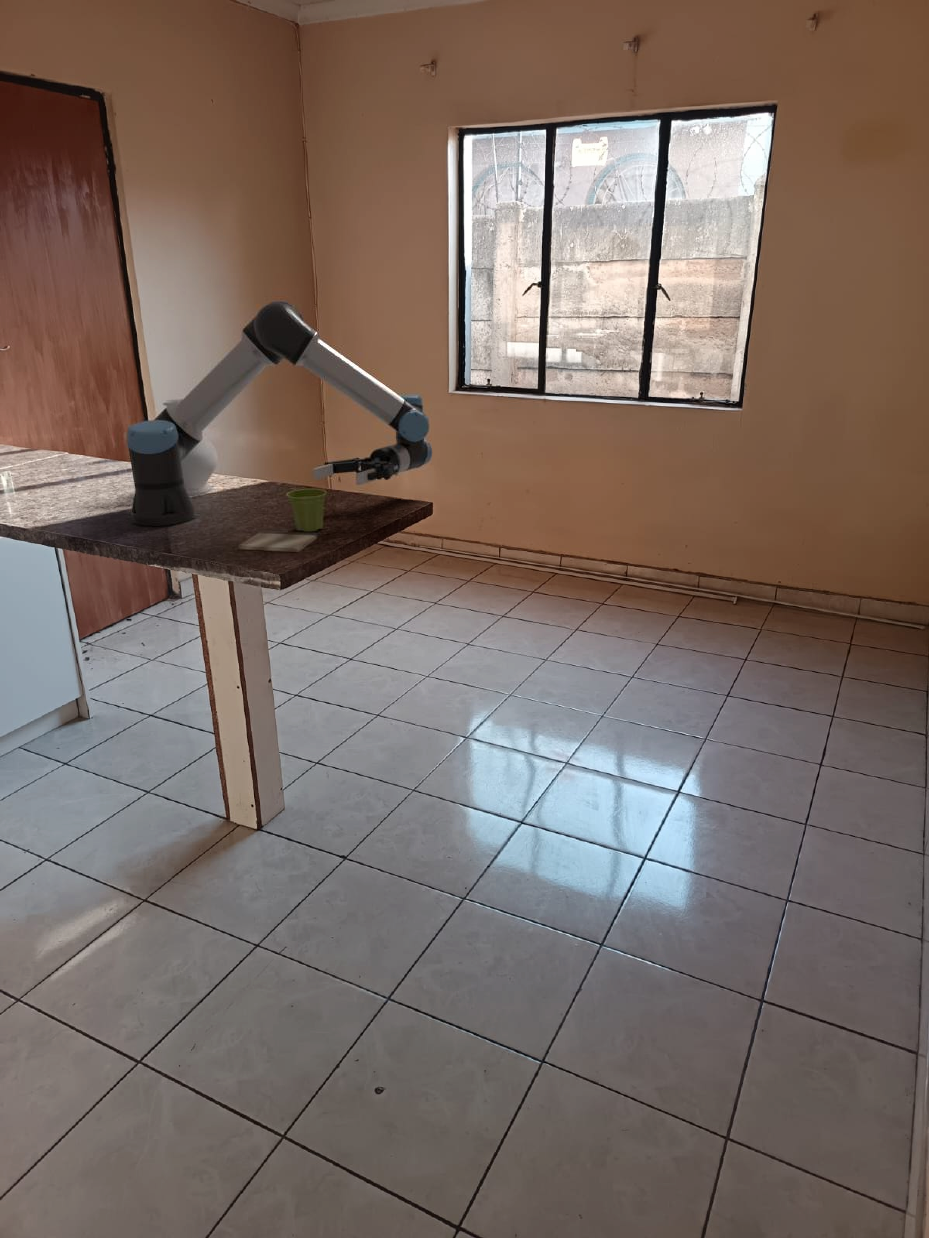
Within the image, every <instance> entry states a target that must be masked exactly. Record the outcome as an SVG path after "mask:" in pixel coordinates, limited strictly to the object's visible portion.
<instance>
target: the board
mask: <svg viewBox="0 0 929 1238" xmlns="http://www.w3.org/2000/svg"><path fill="white" fill-rule="evenodd" d="M318 538H320V534H319V532H318V533H317V532H300V531H298V532H297V531H278V530H276V531H275V530H261V531H260V532H258V533H257V534H255V535H253V536H252V537H250V538H248V539H247V540H246V541H244V542H242V543H240V544H239V545H238V550H251V551H252V550H253V551H269V552H270V551H271V552H288V553H289V552H292V553H299V552H300V551H302V550H303V549H305V548H306V547H307V546H309V545H310V544H312V543H313V542H314V541H315V540H317V539H318Z"/></svg>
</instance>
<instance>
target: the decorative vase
mask: <svg viewBox="0 0 929 1238" xmlns="http://www.w3.org/2000/svg"><path fill="white" fill-rule="evenodd" d="M183 399H184V398H182V399H178V398H177V399H168V400H163V401H162V405H163V406H166V407H167V406H177V405H178V404H179V403H180V402H181V401H182V400H183ZM202 437H203V439H202V440H201V441H200V442H199V443H198V444H197V445H196V446H195V447H194V448H193V449H192V450H191V451H190V452H189V453H188V455H187V456H186V457H185V458H184V459H183V460H182V461H181V464H182V472H183V479H184V486H185V488H186V491H187V493H188V495H189V497H190V496H197V495H198V496H199V495H202V494H207V493H209V492H211V491H213V486H212V485H210V484H206V483H207V482H208V481H209V479H210V478H211V476H212V475H213V474H214V471H215V470H216V468H217V466H218V463H219V457H218V452H217V450H216V448H215V446H214V445H213V443H212V442H211V440H210V439H208V438H207V436H206V435H205V434H203V433H202Z"/></svg>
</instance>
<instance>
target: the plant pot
mask: <svg viewBox="0 0 929 1238" xmlns="http://www.w3.org/2000/svg"><path fill="white" fill-rule="evenodd" d="M326 495H327V491H326V490H325V489H320V488H302V489H295V490H291V491H289V492H287V493H286V494H285V496H286V497H287V498H288V502H289V504H290V506H291V510H292V515H293V519H294V522H295V527H296V530H297V531H298V532H300V531H303V533H310V532H316V531H318V530H321V529H323V527H324V526H323V524H324V506H325V505H324V504H325V500H326Z"/></svg>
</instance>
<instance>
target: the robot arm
mask: <svg viewBox="0 0 929 1238" xmlns="http://www.w3.org/2000/svg"><path fill="white" fill-rule="evenodd" d="M283 359H284V360H286V361H287V362H289V363H291V364H292V365H293V366H295V367H299V366H302V367H304V368H305V369H307V370H308V371H309V372H311V373H312V374H314V375H315V376H317V377H318V378H320V379H321V380H323V381H324V382H326V384H328V385H330V386H331V387H332V388H334V389H335V390H337V391H338V392H340V393H341V394H343V395H345V396H346V397H347V398H348V399H350V400H351V401H353V402H354V403H356V404H357V405H359V406H360V407H362V408H363V409H364V410H366V411H368V412H369V413H370V414H372V415H373V416H375V418H378V419H379V420H380V421H382V422H383V423H385V424H386V425H387V426H389V427H390V428H391V429H393V430H394V431H395V444H390V445H387V446H384V447H381V448H377V449H375V450H374V449H373V451H372V452H371V454H370V456H369V457H364V458H360V457H354V458H350V459H341V460H336V461H325V462H324V464H323V466H317V467H315V468H312V474H313V480H315V481H317V480H320V479H321V480H322V479H323V478H328V477H333V476H334V474H343V473H345V474H346V473H355V481H356V486H360V485H364V484H369V483H370V482H374V481H377V480H379V481H380V480H382V479H384V480H385V481H388V480H390V479H391V478H392V477H393V476H396V477H397V476H399V473H404V472H406V471H407V472H408V471H411V470H414V469H418V468H421V467H423V466H425V465H426V464H428V463H429V462H430V461H431V459H432V457H433V448H432V447H431V444H430V442H429V441H428V440H427V439H425V437H427V435H428V434H429V431H430V421H429V418H428V417H427V415H426V414H425V413H424V412H423V411H424V409H423V408H424V405H423V398H422V397H421V395H420V394H412V393H411V394H399V395H398V394H397V393H396V392H394V391H393V390H392V389H390V388H389V387H387V386H386V385H385V384H383V383H382V382H380V381H379V380H377V378H375V377H373V376H372V375H370V374H369V373H368V372H366V371H365V370H364V369H362V368H361V367H360V366H358V365H356V364H355V363H354V362H352V361H351V360H349V359H348V358H347V357H345V356H344V355H342V354H341V353H340V352H339V351H337V350H335V349H334V348H333V347H331V346H330V345H328V344H327V343H326V342H324V341H323V340H321V338H319V334H318V331H316V330H315V329H314V328H313V327H311V326H310V325H308V324H307V323H306V322H305V321H304V318H303V316H302V314H301V312H300V311H299V310H298V308H296V307H295V306H294V305H293V304H290V303H289V302H287V301H286V302H285V301H281V300H279V301H272V302H269V303H268V304H266V305H264V306H262V308H260V310H259V311H258V312H257V314H256V316H254V317H253V318H252V319H251V320H250V321H249V322H248V324H246V326H244V328H242V330H241V340H240V341H239V342H238V343H237V344H236V345H235V346H234V347H233V348H232V349H231V350H229V352H228V353H227V354H226V355H225V356H224V357H223V358H222V359H221V360H220V361H219V362H218V363H217V365H215V366H214V367H213V368H212V369H211V370H210V372H208V373H207V374H206V376H205V377H203V378H202V380H200V381H199V382H198V384H197V385H196V386H194V388H193V389H192V390H190V391H189V392H188V394H187V395H186V396H185V397H184V398H182V399H183V400H182V401H181V402H180V403H179V404H178V405H177V406H166V407H165V408H164V409H163V410H162V411H161V412H160V413H159V414H158V415H157V416H156V417H155V418H154V419H152V420H150V419H149V420H143V421H139V422H136V423H133V424H132V425H129V427H128V428H127V431H126V445H127V447H128V453H129V454H128V455H129V459H130V460H129V461H130V466H131V473H132V478H133V485H134V497H133V501H132V505H131V506H132V507H131V519H132V522H133V523H134V524H135V525H138V526H144V527H159V526H160V527H161V526H163V527H164V526H171V525H176V524H181V523H186V522H188V521H191V520H193V519H195V517H196V515H197V514H196V508H195V505H194V503H193V501H192V499H191V497H190V496H189V495H188V493H187V491H186V488H185V486H184V479H183V472H182V464H181V461H182V460H183V459H184V458H185V457H186V456H187V455H188V453H189V452H190V451H191V450H192V449H193V448H194V447H195V446H196V445H197V444H198V443H199V442H200V441H201V440H202V439H203V437H202V434H203V431H204V430H205V428H207V426H209V425H210V424H211V423H212V421H214V420H215V419H216V418H217V417H218V416H219V415H220V414H221V413H222V412H223V411H224V409H225V408H227V407H228V406H229V405H230V404H231V402H233V401H234V399H236V398H237V397H238V396H239V394H241V393H242V392H243V391H244V390H245V389H246V387H247V386H249V384H251V383H252V381H253V380H254V379H256V378H257V377H258V376H259V374H260V373H261V372H263V370H265V369H266V367H268V366H270V367H271V366H272V367H273V366H274V367H275V366H278V365H279V363H280V362H281V361H282V360H283ZM359 468H360V470H359ZM133 523H132V524H133Z"/></svg>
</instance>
